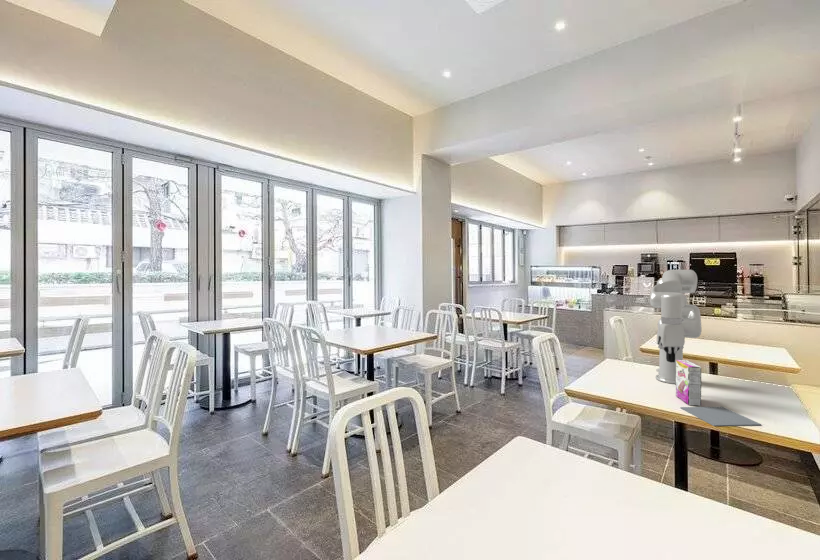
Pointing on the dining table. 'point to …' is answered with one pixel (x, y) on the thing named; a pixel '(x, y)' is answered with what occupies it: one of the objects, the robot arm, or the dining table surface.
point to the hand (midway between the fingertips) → (670, 361)
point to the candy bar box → (688, 382)
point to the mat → (720, 416)
